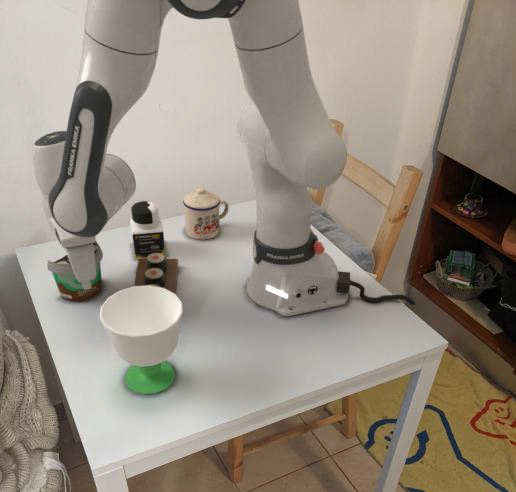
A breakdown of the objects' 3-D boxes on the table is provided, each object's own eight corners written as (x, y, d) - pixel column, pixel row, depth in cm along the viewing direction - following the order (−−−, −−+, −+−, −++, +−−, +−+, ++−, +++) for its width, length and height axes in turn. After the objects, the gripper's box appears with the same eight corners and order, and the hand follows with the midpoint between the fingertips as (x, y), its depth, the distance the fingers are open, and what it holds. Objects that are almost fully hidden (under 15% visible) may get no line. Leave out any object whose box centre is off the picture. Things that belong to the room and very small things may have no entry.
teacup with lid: (194, 244, 137) (192, 200, 129) (178, 227, 142) (176, 185, 135) (236, 232, 142) (237, 190, 134) (220, 217, 147) (219, 175, 140)
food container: (73, 312, 115) (64, 273, 108) (55, 300, 118) (45, 261, 111) (119, 287, 122) (113, 248, 116) (102, 276, 125) (94, 237, 118)
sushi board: (178, 265, 129) (177, 247, 126) (174, 319, 115) (172, 300, 111) (139, 266, 129) (137, 247, 125) (130, 320, 114) (127, 301, 111)
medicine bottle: (135, 259, 131) (129, 213, 123) (133, 243, 136) (127, 199, 128) (165, 256, 132) (161, 211, 124) (162, 241, 137) (158, 196, 129)
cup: (196, 394, 99) (192, 326, 89) (118, 412, 95) (105, 343, 85) (178, 345, 109) (173, 279, 98) (107, 359, 105) (94, 292, 94)
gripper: (45, 195, 114) (59, 253, 124) (61, 245, 101) (75, 305, 110) (76, 191, 116) (88, 247, 126) (96, 239, 103) (107, 298, 112)
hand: (82, 275), depth 118 cm, fingers open, 8 cm apart
